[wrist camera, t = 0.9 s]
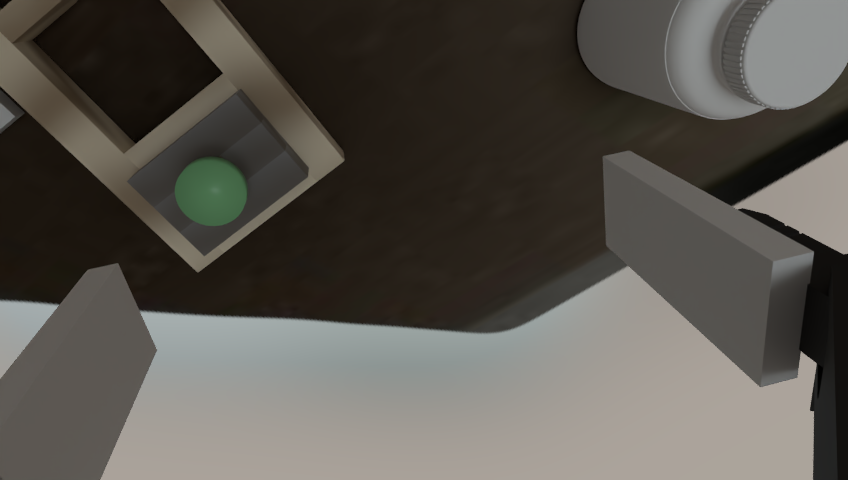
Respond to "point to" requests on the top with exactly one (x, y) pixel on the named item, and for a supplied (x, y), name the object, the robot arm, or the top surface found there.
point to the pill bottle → (716, 51)
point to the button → (211, 191)
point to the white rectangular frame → (8, 112)
